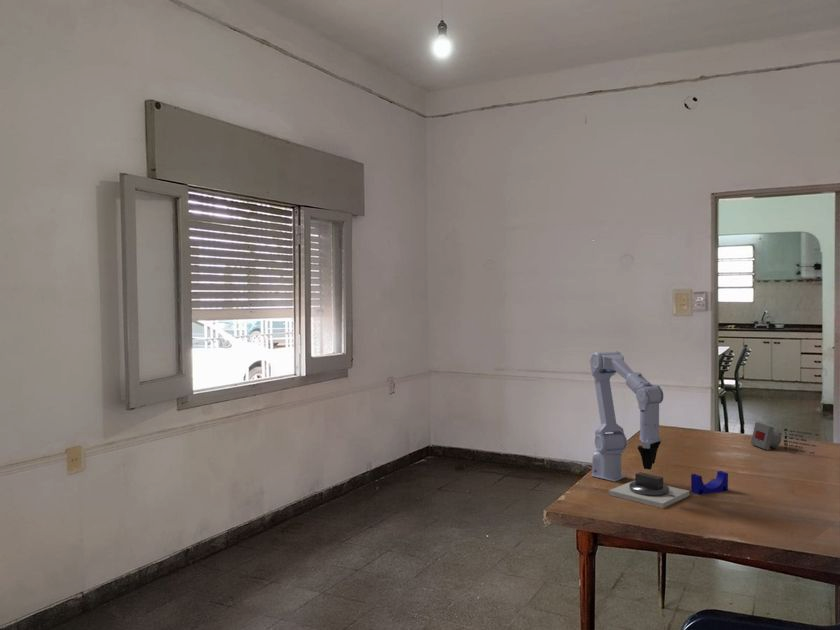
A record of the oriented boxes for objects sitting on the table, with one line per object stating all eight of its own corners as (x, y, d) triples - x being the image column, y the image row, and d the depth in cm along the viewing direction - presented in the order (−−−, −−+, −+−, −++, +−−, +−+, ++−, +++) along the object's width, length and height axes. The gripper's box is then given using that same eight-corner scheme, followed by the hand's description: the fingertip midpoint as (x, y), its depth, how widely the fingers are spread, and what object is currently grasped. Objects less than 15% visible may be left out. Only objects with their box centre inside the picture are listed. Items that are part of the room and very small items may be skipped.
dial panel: (608, 494, 207) (608, 489, 207) (637, 483, 219) (637, 478, 219) (662, 508, 194) (662, 502, 193) (689, 495, 206) (689, 490, 206)
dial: (655, 498, 198) (655, 483, 198) (621, 488, 207) (621, 474, 207) (676, 490, 205) (676, 476, 205) (643, 481, 215) (643, 468, 214)
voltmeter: (745, 447, 270) (745, 424, 269) (756, 443, 277) (757, 420, 277) (815, 459, 249) (816, 434, 249) (826, 455, 257) (826, 430, 256)
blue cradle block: (717, 487, 215) (717, 469, 214) (727, 491, 210) (728, 473, 210) (687, 491, 211) (687, 473, 211) (697, 495, 207) (697, 476, 206)
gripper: (660, 429, 197) (659, 473, 198) (665, 420, 210) (665, 462, 211) (635, 427, 200) (635, 470, 201) (642, 419, 213) (642, 459, 214)
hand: (649, 466), depth 206 cm, fingers open, 7 cm apart
